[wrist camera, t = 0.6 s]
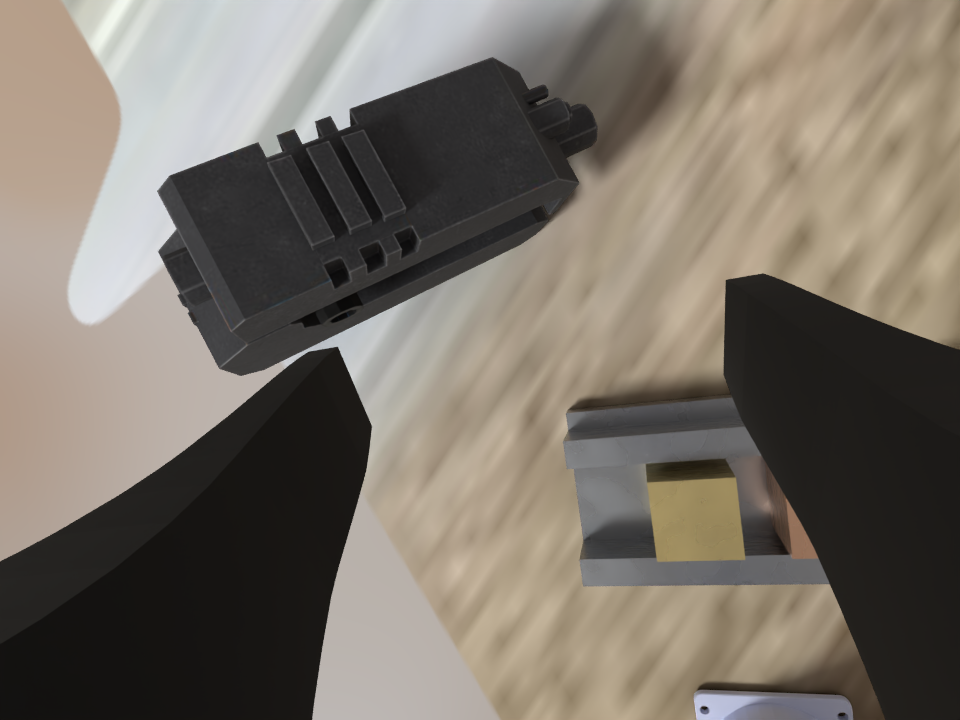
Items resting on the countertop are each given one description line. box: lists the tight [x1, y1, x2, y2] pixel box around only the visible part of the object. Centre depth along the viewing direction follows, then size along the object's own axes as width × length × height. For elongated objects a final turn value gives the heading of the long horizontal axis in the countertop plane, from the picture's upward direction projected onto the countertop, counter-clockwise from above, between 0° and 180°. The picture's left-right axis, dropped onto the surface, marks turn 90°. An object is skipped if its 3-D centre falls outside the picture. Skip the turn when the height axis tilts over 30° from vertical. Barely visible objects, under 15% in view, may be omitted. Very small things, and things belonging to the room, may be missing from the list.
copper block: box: [765, 462, 818, 559], centre depth 27 cm, size 4×4×4 cm
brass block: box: [646, 458, 745, 562], centre depth 29 cm, size 4×4×4 cm
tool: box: [157, 57, 597, 376], centre depth 29 cm, size 7×21×16 cm, turn 119°
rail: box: [563, 394, 830, 586], centre depth 29 cm, size 10×16×4 cm, turn 99°
